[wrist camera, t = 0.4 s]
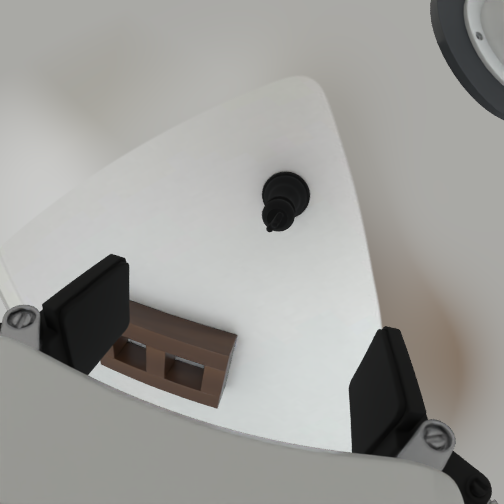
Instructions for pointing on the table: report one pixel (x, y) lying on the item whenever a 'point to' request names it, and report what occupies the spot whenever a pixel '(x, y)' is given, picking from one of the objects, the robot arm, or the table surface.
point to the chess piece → (283, 200)
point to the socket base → (173, 355)
